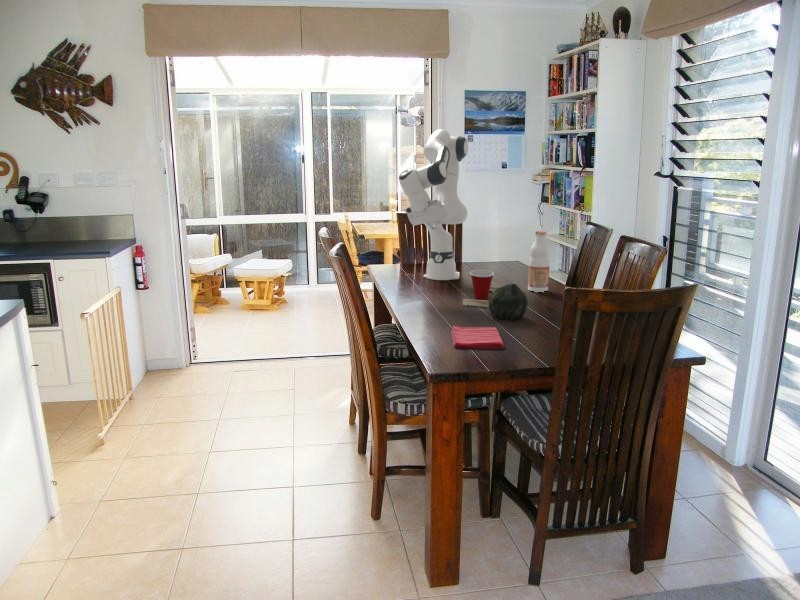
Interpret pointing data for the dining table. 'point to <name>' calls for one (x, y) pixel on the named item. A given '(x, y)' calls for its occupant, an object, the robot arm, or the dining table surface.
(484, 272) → the plastic cup
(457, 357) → the dining table surface
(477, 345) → the dish towel
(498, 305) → the squash
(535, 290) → the fruit juice
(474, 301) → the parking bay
